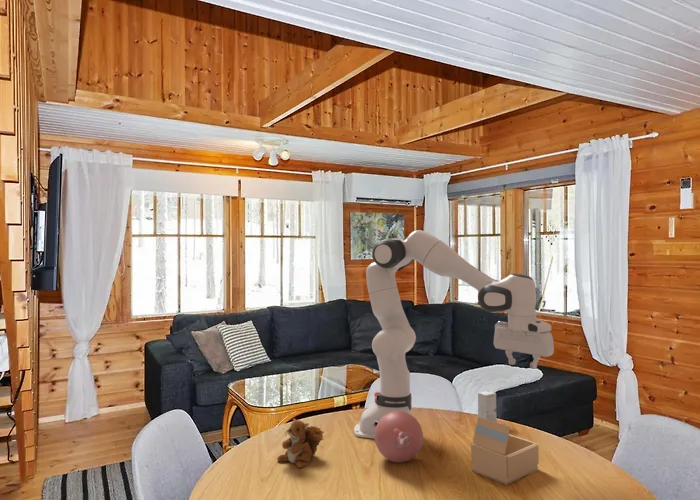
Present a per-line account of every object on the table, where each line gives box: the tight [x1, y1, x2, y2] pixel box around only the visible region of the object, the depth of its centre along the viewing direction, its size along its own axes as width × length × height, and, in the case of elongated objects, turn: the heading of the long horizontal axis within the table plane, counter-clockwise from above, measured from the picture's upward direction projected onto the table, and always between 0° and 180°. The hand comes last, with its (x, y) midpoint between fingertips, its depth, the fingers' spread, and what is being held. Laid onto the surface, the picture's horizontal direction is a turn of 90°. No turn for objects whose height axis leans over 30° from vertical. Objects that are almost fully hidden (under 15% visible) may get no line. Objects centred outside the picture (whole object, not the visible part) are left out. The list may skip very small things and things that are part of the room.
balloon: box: [374, 411, 424, 464], centre depth 158 cm, size 15×20×15 cm
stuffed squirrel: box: [276, 418, 325, 469], centre depth 162 cm, size 10×14×13 cm
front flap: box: [472, 416, 511, 454], centre depth 148 cm, size 8×11×1 cm
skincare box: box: [477, 390, 498, 423], centre depth 194 cm, size 6×4×12 cm
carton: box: [470, 433, 540, 486], centre depth 152 cm, size 16×13×8 cm
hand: (522, 366), depth 163 cm, fingers open, 6 cm apart
